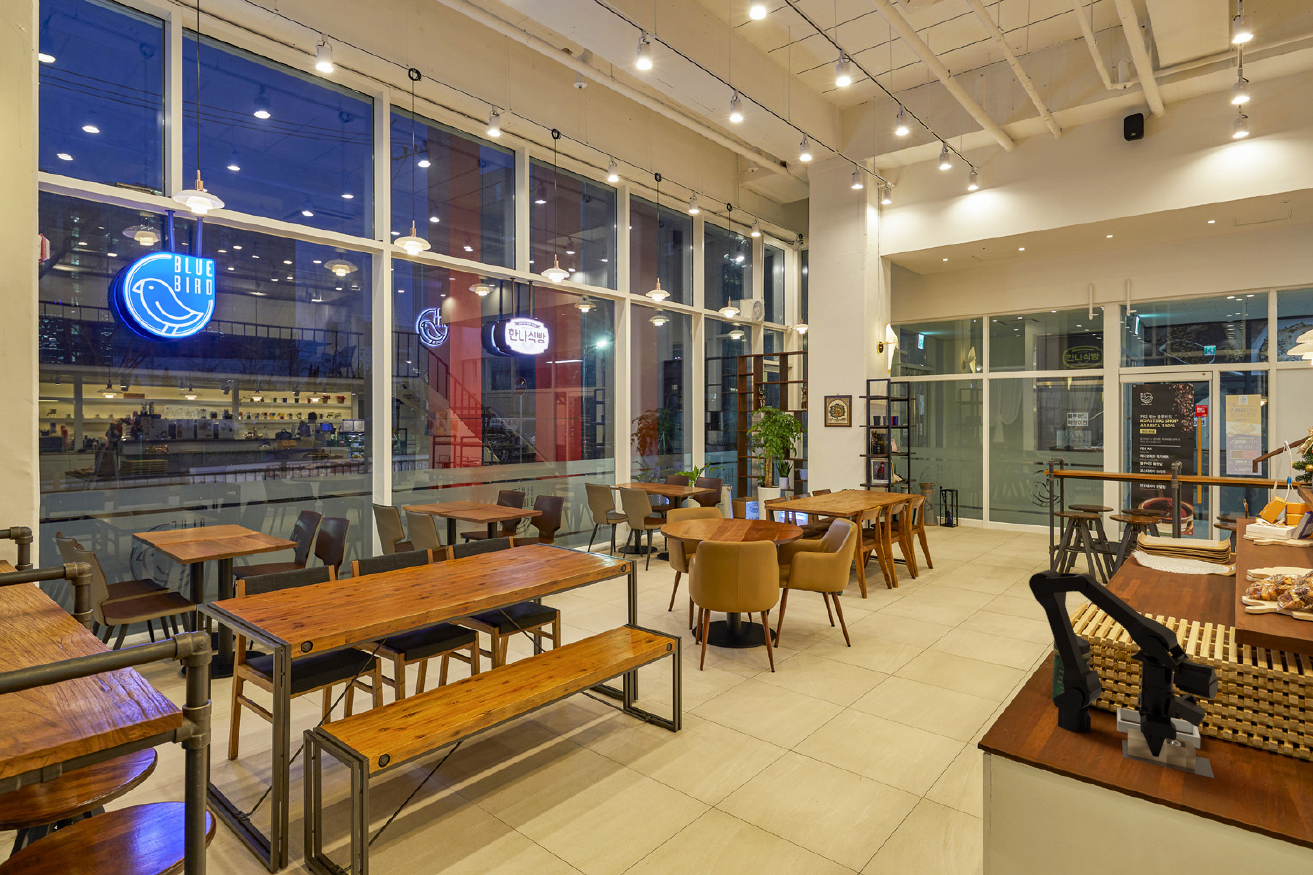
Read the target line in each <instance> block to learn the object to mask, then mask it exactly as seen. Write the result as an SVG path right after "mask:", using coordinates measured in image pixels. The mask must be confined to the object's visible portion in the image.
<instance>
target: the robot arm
mask: <svg viewBox="0 0 1313 875" xmlns="http://www.w3.org/2000/svg"><path fill="white" fill-rule="evenodd" d="M1028 586H1029V589H1030V591H1031V592H1032V594H1033V596H1034V598H1035V600H1036V601H1037V602H1038V604H1040V606H1041V607H1042V608H1043V610H1044V612H1045V614H1046V618H1047V621H1048V624H1049V627H1050V630H1051V633H1052V636H1053V639H1054V640H1055V643H1056V646H1057V649H1058V652H1059V655H1060V658H1061V661H1062V664H1063V679H1062V682H1063V689H1064V692H1063V693H1062V694H1060V695H1058V696H1056V697H1055V698H1053V701H1054V702H1053V701H1052V702H1053V703H1054V706H1055V708H1056V709H1057V727H1060V728H1061V729H1063V730H1067V731H1068V732H1072V733H1073V732H1074V733H1086V734H1087V733H1089V734H1090V733H1092V713H1090V712H1089V706H1091V705H1092V703H1093V702H1095V701H1096V700H1098V699H1099V698H1100V696H1101V695H1102V688H1103V687H1104V685H1103V684H1102V683H1101V681H1100V677H1099V672H1098V670H1097V669H1095V670H1091V669H1089V668H1088V667H1087V666H1086V665H1085V663H1084V660H1083V657H1082V654H1081V651H1080V648H1079V645H1078V642H1077V639H1076V636H1075V630H1074V627H1073V625H1072V622H1071V618H1070V615H1069V613H1068V610H1067V606H1066V600H1067V593H1068V592H1069V593H1071V592H1077V593H1080V594H1081V595H1083V597H1085V598H1086V599H1088V600H1089V601H1090V602H1091V603H1092V604H1094V605H1095V606H1096V607H1098V608H1099V609H1100V610H1101V611H1103V612H1104V613H1105V614H1107V615H1108V616H1109V617H1110V618H1111V619H1113V620H1114V621H1115V622H1116V623H1118V624H1119V625H1121V626H1122V627H1123V628H1124V629H1125V631H1126V632H1127V634H1128V635H1129V637H1130V638H1131V640H1132V641H1133V642H1134V643H1135V644H1136V645H1137V647H1139V648H1140V649H1139V650H1138V651H1137V652H1135V653H1134V654H1132V655H1131V656H1130V659H1131V660H1134V661H1138V662H1141V677H1140V678H1141V680H1140V692H1139V693H1137V706H1138V707H1139V708H1138V711H1139V715H1140V723H1139V724H1140V730H1141V732H1142V733H1143V735H1144V737H1145V739H1146V742H1147V744H1148V746H1149V749H1150V751H1151V753H1152V755H1153V756H1155V757H1159V754H1160V752H1161V749H1162V746H1163V743H1164V741H1165V739H1166V738H1167V739H1172V740H1176V733H1177V731H1178V730H1176V726H1175V724H1174V723H1173V722H1172V721H1171V718H1174V719H1176V718H1175V717H1177V718H1178V719H1180V720H1184V721H1188V722H1190V723H1191V724H1192V725H1194V726H1196V727H1197V728H1198V727H1200V725H1201V724H1202V722H1203V720H1204V718H1205V717H1206V712H1205V708H1203V707H1202V706H1201V705H1200V704H1198V703H1197V698H1196V696H1197V697H1202V698H1206V699H1209V700H1214V699H1215V697H1216V695H1217V693H1218V688H1219V679H1218V675H1217V673H1216V672H1215V666H1213V665H1209V664H1202V663H1197V662H1192V661H1190V660H1189V659H1190V658H1189V656H1188V655H1187V653H1186V652H1185V650H1184V648H1182V646H1181V645H1180V644H1179V641H1178V636H1177V634H1176V633H1175V632H1174V630H1173V629H1171V628H1169V627H1168V626H1166V625H1164V624H1162V623H1161V622H1159V621H1157V620H1154V619H1153V618H1150V617H1147V616H1144V615H1143V614H1141V613H1139V612H1138V611H1136V609H1134V608H1133V607H1132V606H1130V605H1129V604H1128V603H1126V602H1125V601H1124V600H1123V599H1121V598H1120V597H1118V596H1117V595H1116V594H1115V593H1114V592H1112V591H1111V590H1109V589H1108V588H1107V587H1106V586H1104V585H1103V584H1101V582H1099V581H1098V580H1096V579H1095V577H1094V576H1093V574H1090V573H1086V572H1085V573H1084V572H1083V573H1077V572H1076V573H1075V572H1074V573H1073V572H1058V571H1057V570H1055V569H1046V570H1043V571H1040V572H1037V573H1035V574H1032V576H1031V577H1030V579H1029V580H1028ZM1054 640H1053V641H1054ZM1174 685H1175V688H1177V689H1178V690H1179V691H1180V692H1183V693H1187V694H1184V695H1183V696H1181V695H1179V696H1178V695H1176V694H1175V689H1174Z"/></svg>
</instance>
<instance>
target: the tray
mask: <svg viewBox="0 0 1313 875" xmlns="http://www.w3.org/2000/svg"><path fill="white" fill-rule="evenodd" d="M1116 709H1117V711H1116V727H1117V730H1116V731H1117V732H1120V733H1123V734H1124V733H1125V734H1128V728H1130V729H1135V730H1140V715H1139V710H1138V711H1137V710H1135V709H1133V710H1132V709H1129V708H1123V707H1118V706H1117V707H1116ZM1124 720H1125V721H1124ZM1129 721H1131V722H1129ZM1171 721H1172V722H1173V723H1174V724H1175V726H1176V731H1178V732H1177V733H1176V738H1178V739H1182V740H1187V741H1192V742H1194V746H1195V749H1198V750H1200V749H1201V734H1200V733H1199V728H1198V727H1196V726H1194V725H1192V724H1191V723H1190V722H1188V721H1186V720H1183V719H1180V718H1175V719H1174V718H1171ZM1138 723H1139V724H1138ZM1140 731H1141V730H1140ZM1179 731H1180V732H1179ZM1183 732H1184V733H1183Z"/></svg>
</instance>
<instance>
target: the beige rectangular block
mask: <svg viewBox="0 0 1313 875" xmlns="http://www.w3.org/2000/svg"><path fill="white" fill-rule="evenodd" d="M1127 741H1128V754H1129V755H1134V756H1138V757H1142V758H1147V759H1151V760H1156V761H1160V762H1164V763H1169V764H1173V765H1178V766H1182V767H1186V768H1191V769H1195V764H1196V756H1197V755H1196V754H1197V750H1196V748H1195V746H1194V742H1192V741H1187V740H1182V739H1178V738H1176V741H1178V742H1180V743H1181V745H1182V747H1179V746H1175V745H1170V742H1171V741H1173V740H1172V739H1167V738H1166V739H1165V741H1164V743H1163V746H1162V749H1161V752H1160V754H1159V757H1155V756H1153V755H1152V753H1151V751H1150V749H1149V746H1148V744H1147V742H1146V739H1145V737H1144V735H1143V733H1142V732H1141V731H1140V730H1135V729H1130V728H1128V733H1127Z"/></svg>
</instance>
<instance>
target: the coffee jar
mask: <svg viewBox="0 0 1313 875" xmlns="http://www.w3.org/2000/svg"><path fill="white" fill-rule="evenodd" d="M1075 636H1076V639H1077V642H1078V645H1079V648H1080V651H1081V654H1082V657H1083V660H1084V663H1085V665H1086V666H1087V667H1088V668H1089V669H1090V668H1091V656H1092V655H1091V654H1092V648H1091V649H1090V643H1089V642H1087V641H1086V640H1084V639H1082V638H1081V637H1078V636H1077V635H1075ZM1052 646H1053V647H1052V648H1053V671H1052V672H1053V673H1052V686H1051V701H1052V702H1053V703H1054V701H1053V698H1055V697H1056V696H1058V695H1060V694H1062V693H1063V692H1064V689H1063V682H1062V679H1063V664H1062V661H1061V658H1060V655H1059V652H1058V649H1057V646H1056V643H1055V640H1053V645H1052ZM1090 670H1091V669H1090Z"/></svg>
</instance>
